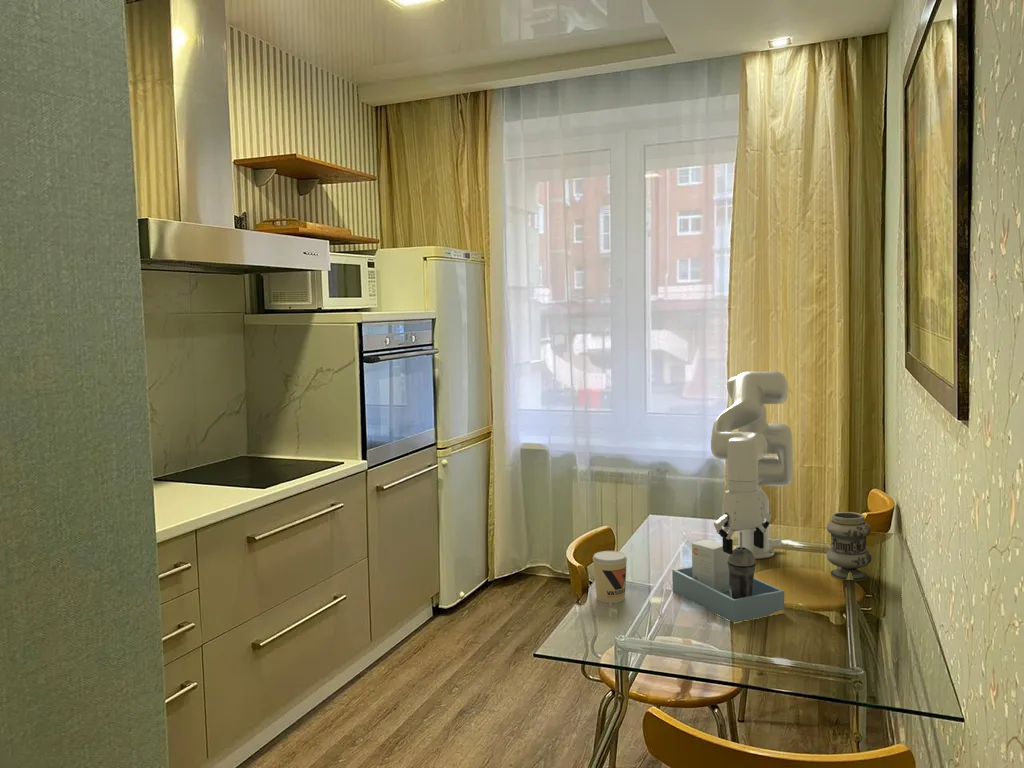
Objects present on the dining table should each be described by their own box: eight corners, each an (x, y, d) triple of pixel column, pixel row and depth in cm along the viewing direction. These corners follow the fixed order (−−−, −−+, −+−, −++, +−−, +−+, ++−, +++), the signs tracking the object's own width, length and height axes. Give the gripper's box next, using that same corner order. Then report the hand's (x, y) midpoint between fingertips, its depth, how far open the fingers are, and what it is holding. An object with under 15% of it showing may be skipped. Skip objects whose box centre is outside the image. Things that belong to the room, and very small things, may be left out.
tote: (718, 582, 234) (718, 561, 233) (784, 613, 208) (784, 591, 208) (672, 590, 228) (672, 569, 227) (734, 624, 202) (733, 600, 202)
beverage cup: (758, 603, 213) (758, 528, 211) (754, 612, 207) (753, 536, 205) (730, 599, 216) (729, 526, 214) (725, 609, 210) (724, 533, 208)
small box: (729, 590, 223) (729, 544, 222) (714, 596, 219) (714, 549, 218) (706, 583, 230) (706, 538, 229) (691, 588, 226) (691, 542, 225)
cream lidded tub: (606, 606, 217) (605, 562, 216) (587, 596, 226) (586, 553, 225) (634, 599, 222) (633, 556, 221) (615, 589, 230) (614, 548, 229)
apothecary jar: (837, 566, 244) (837, 507, 242) (878, 574, 235) (878, 513, 234) (819, 576, 236) (819, 515, 234) (861, 585, 227) (861, 522, 225)
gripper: (760, 478, 215) (761, 541, 217) (705, 486, 209) (706, 551, 210) (779, 484, 208) (780, 548, 210) (723, 492, 202) (724, 559, 204)
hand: (743, 550), depth 210 cm, fingers open, 9 cm apart
